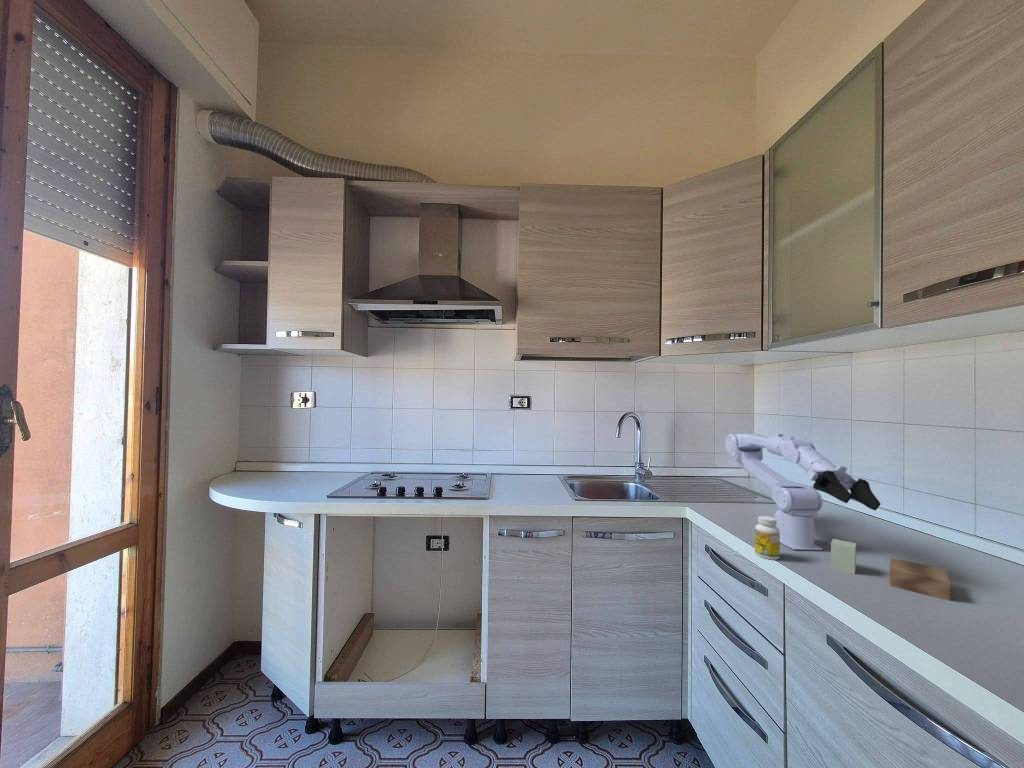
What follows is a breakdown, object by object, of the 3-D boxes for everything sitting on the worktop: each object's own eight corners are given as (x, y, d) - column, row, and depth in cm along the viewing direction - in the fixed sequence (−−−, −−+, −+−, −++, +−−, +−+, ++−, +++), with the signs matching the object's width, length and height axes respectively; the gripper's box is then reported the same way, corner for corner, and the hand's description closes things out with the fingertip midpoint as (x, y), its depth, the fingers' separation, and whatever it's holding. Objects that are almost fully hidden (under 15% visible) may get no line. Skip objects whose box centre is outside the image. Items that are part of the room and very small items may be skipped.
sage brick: (830, 568, 99) (830, 543, 99) (832, 563, 102) (833, 538, 102) (854, 574, 96) (854, 548, 96) (856, 568, 99) (856, 543, 99)
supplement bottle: (784, 559, 103) (785, 520, 103) (766, 560, 102) (766, 521, 102) (767, 551, 108) (768, 514, 109) (749, 552, 107) (750, 515, 108)
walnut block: (889, 587, 90) (889, 568, 90) (890, 575, 96) (890, 557, 97) (950, 602, 84) (950, 582, 84) (946, 588, 90) (946, 569, 90)
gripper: (804, 449, 104) (845, 481, 92) (853, 462, 106) (900, 496, 94) (789, 471, 107) (827, 506, 94) (837, 484, 109) (881, 520, 96)
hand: (862, 503), depth 94 cm, fingers open, 7 cm apart
